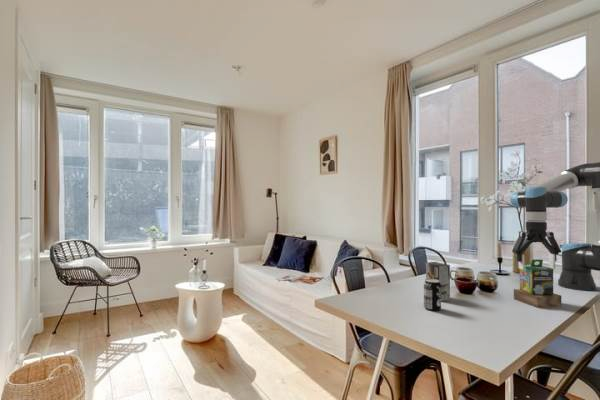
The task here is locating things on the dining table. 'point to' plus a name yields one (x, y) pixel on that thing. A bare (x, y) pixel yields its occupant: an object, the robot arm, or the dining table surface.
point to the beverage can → (432, 294)
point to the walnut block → (537, 299)
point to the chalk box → (537, 279)
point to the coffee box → (440, 277)
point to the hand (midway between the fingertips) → (536, 268)
